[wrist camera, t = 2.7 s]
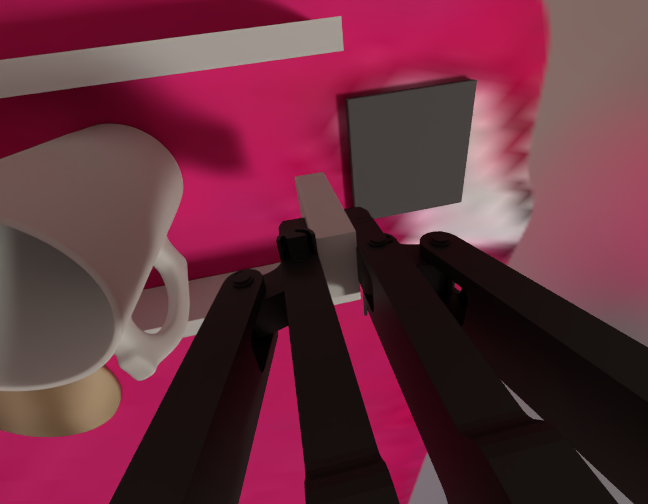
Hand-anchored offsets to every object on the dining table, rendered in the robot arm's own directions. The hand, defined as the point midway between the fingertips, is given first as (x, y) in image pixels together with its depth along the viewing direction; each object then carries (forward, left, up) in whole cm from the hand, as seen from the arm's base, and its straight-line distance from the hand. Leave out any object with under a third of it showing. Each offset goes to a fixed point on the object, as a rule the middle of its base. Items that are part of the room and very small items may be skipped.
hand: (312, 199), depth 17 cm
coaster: (-24, -15, -5) cm, 28 cm away
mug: (-10, 0, -5) cm, 11 cm away
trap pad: (+7, 0, -5) cm, 9 cm away
